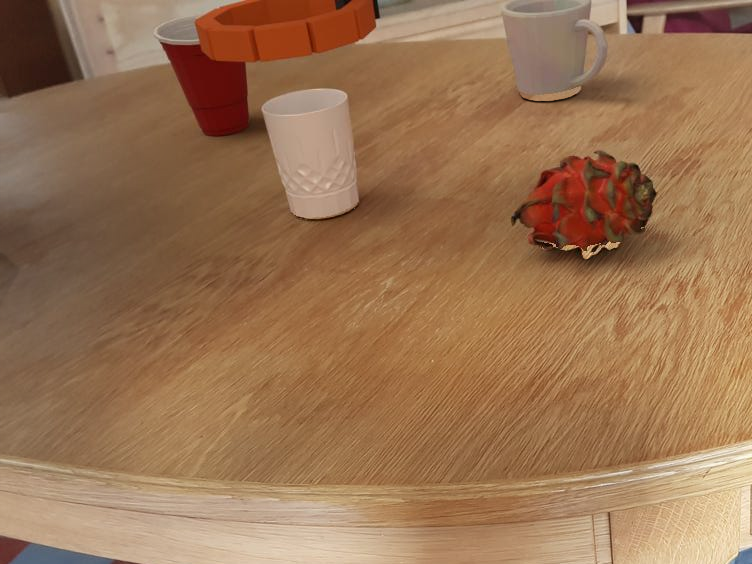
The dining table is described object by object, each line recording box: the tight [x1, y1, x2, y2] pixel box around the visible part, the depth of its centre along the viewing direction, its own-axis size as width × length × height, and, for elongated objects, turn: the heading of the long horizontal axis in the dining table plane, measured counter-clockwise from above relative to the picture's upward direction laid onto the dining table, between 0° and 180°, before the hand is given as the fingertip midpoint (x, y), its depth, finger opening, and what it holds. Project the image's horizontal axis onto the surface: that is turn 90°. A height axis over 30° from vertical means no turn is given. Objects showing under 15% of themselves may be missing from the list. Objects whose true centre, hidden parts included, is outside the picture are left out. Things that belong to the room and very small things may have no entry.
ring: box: [194, 0, 377, 63], centre depth 81 cm, size 15×15×2 cm
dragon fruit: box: [510, 149, 658, 251], centre depth 77 cm, size 8×8×12 cm
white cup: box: [261, 87, 360, 218], centre depth 89 cm, size 8×8×10 cm
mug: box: [500, 0, 609, 95], centre depth 110 cm, size 10×15×10 cm
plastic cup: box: [152, 13, 250, 137], centre depth 112 cm, size 11×11×12 cm
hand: (358, 18), depth 84 cm, fingers closed on ring, 2 cm apart
